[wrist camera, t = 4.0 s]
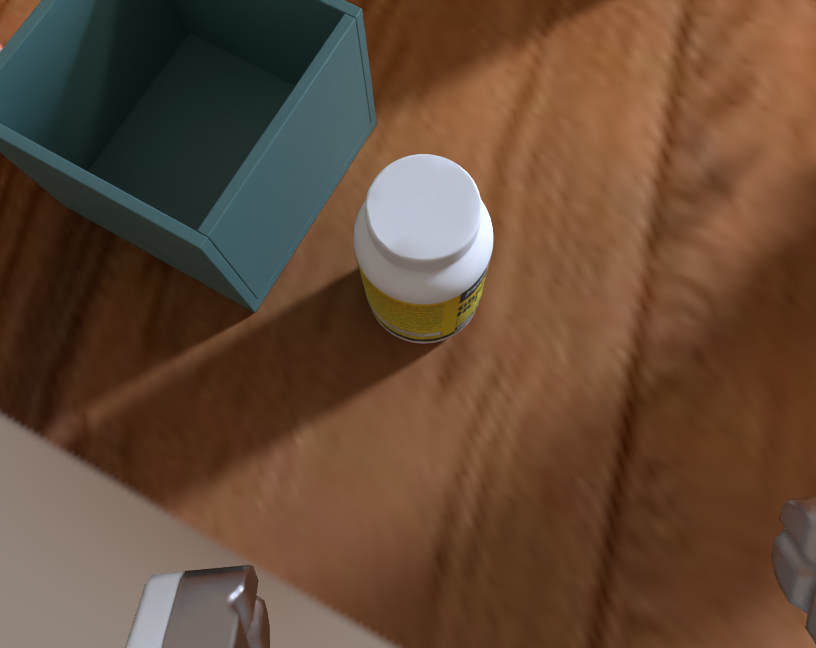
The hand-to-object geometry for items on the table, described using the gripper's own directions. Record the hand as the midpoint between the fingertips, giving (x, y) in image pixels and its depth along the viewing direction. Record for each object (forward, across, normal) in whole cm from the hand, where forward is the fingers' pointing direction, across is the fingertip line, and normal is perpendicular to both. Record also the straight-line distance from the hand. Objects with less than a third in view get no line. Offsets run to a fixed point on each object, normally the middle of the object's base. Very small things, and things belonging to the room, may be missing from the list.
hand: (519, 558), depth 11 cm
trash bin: (+33, +11, +3) cm, 35 cm away
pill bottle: (+27, 0, +9) cm, 28 cm away
